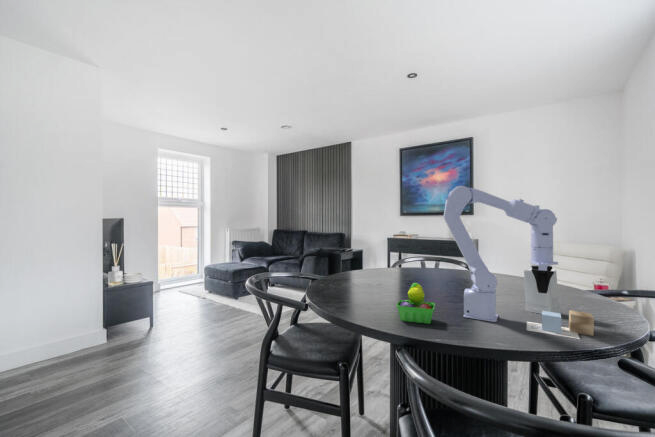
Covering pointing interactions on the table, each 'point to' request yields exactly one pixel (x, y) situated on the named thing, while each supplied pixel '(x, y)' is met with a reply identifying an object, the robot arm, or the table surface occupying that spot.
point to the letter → (564, 332)
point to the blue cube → (551, 321)
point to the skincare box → (540, 294)
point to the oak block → (581, 322)
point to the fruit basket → (415, 306)
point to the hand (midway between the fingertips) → (542, 290)
